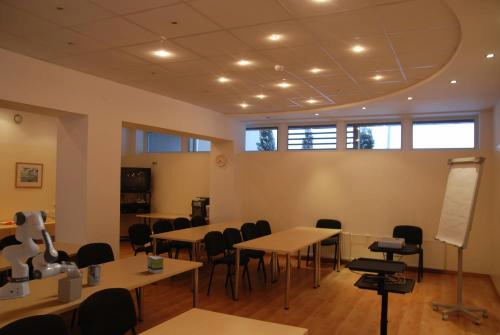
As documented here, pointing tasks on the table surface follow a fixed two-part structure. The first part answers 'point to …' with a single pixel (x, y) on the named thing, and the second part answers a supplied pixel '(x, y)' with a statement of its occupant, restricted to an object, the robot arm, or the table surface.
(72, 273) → the flap
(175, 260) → the table surface
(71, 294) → the carton
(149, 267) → the tea box
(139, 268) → the table surface
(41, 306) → the table surface
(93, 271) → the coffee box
